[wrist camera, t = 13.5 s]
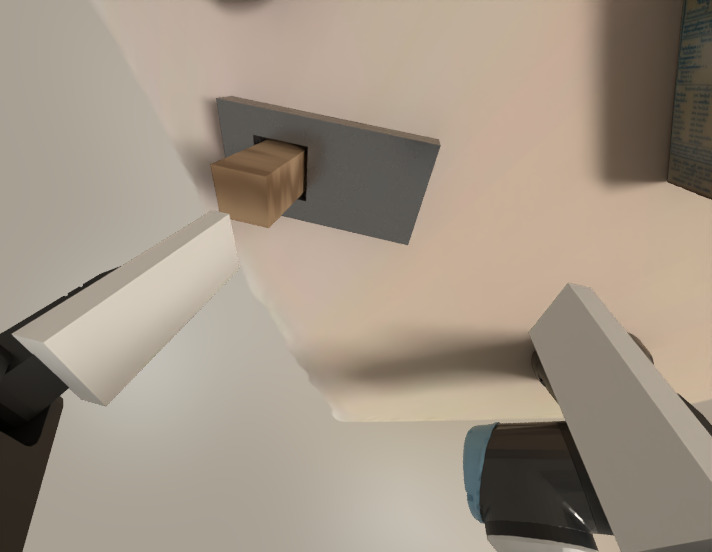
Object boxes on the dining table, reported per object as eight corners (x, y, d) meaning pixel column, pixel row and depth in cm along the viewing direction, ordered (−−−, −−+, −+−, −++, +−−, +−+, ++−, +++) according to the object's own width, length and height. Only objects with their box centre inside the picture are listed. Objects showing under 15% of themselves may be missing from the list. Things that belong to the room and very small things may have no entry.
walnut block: (309, 186, 35) (268, 228, 26) (273, 178, 35) (220, 216, 26) (310, 146, 32) (265, 176, 22) (271, 137, 32) (210, 164, 23)
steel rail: (408, 234, 36) (407, 245, 34) (244, 196, 38) (232, 204, 35) (438, 139, 29) (440, 145, 26) (231, 96, 30) (216, 98, 28)
